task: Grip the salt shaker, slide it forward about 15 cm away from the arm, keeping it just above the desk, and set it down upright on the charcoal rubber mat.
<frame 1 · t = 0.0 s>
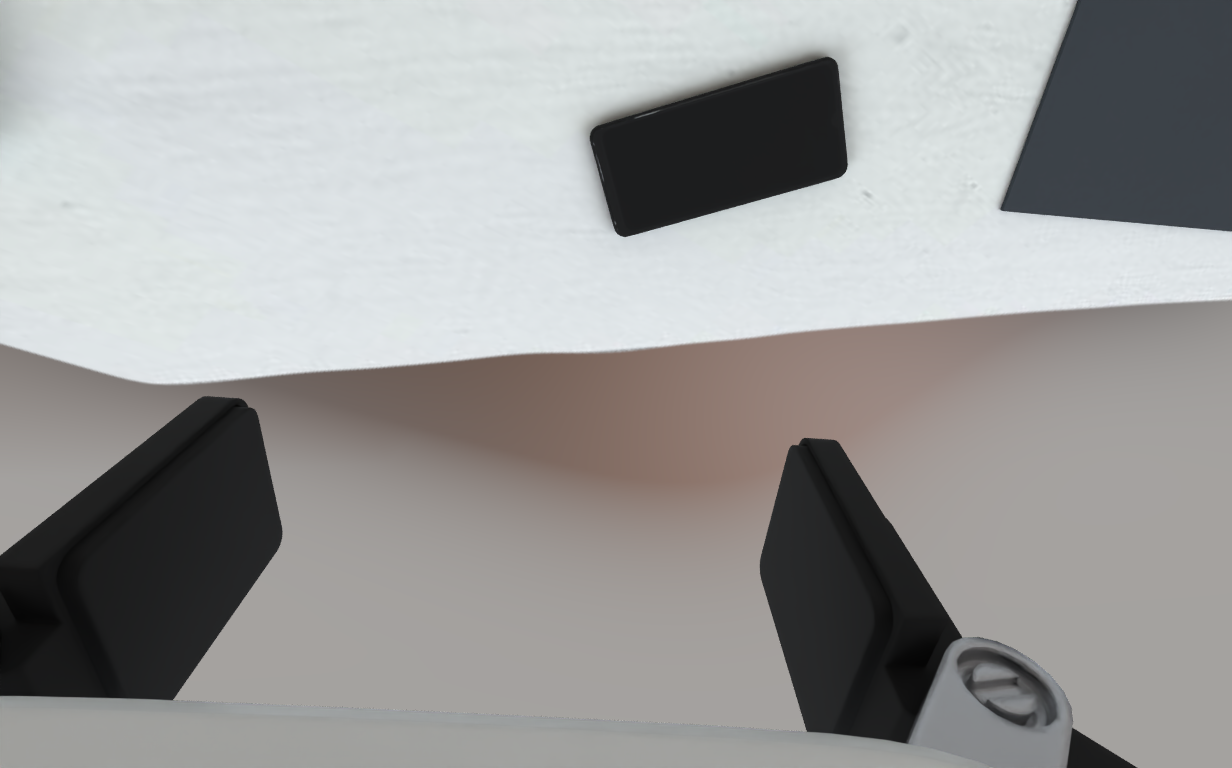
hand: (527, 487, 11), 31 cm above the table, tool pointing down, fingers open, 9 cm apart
mat: (1213, 49, 35), on the table
smartphone: (718, 151, 38), on the table
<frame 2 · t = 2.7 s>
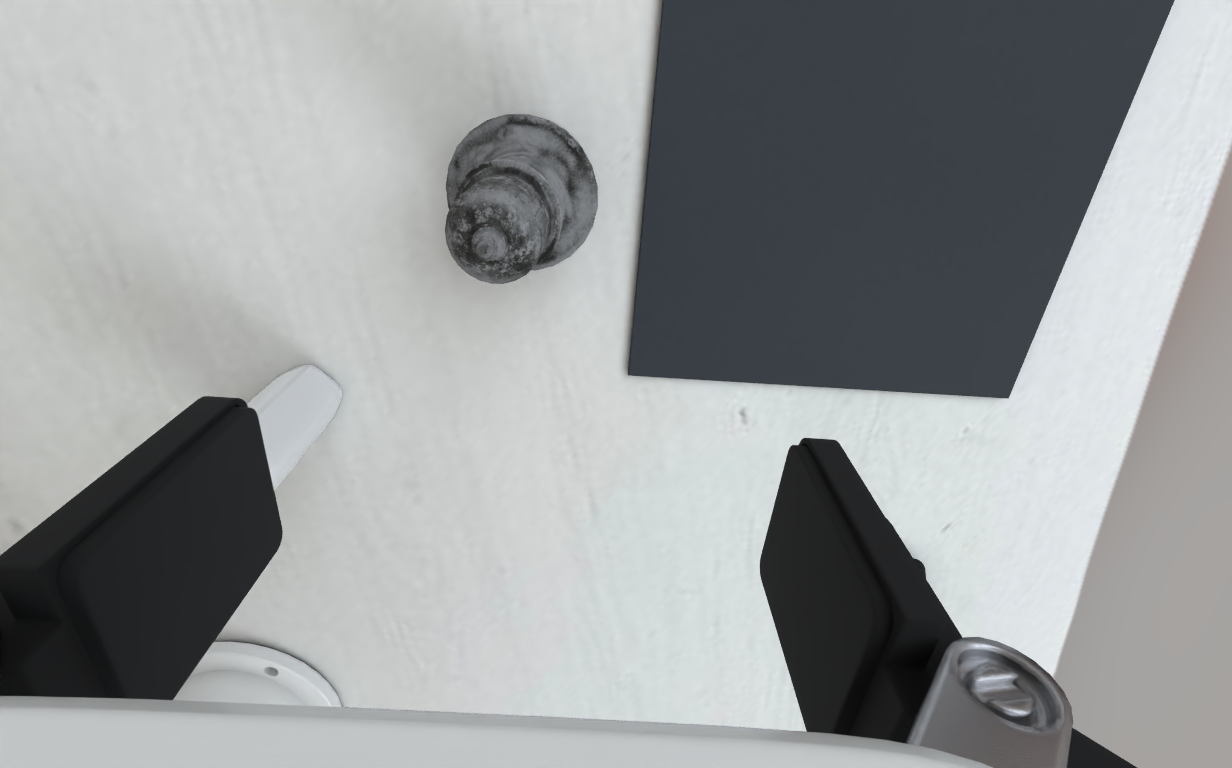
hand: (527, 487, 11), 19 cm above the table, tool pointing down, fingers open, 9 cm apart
mat: (864, 207, 27), on the table
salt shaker: (532, 182, 27), on the table
eye dropper bottle: (300, 403, 31), on the table
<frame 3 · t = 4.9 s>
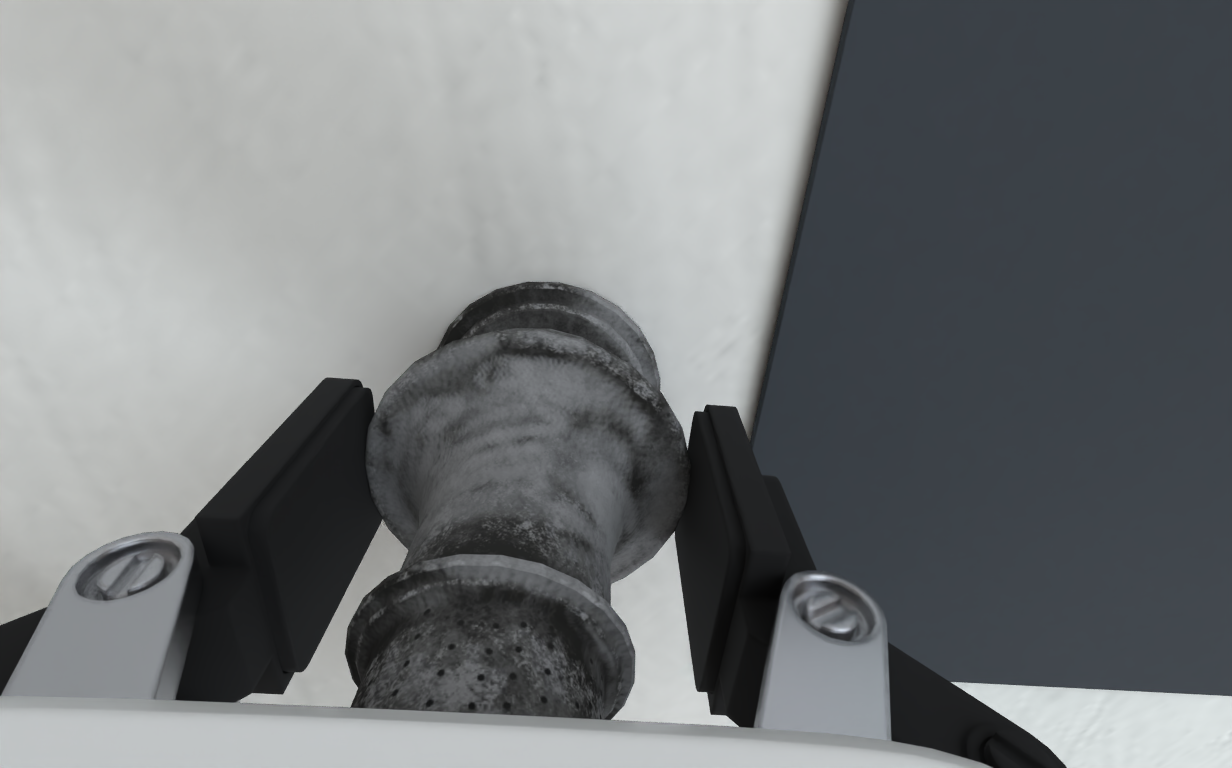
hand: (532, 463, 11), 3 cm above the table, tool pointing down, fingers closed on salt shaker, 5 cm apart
mat: (1158, 434, 15), on the table
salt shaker: (548, 386, 14), on the table, touching gripper
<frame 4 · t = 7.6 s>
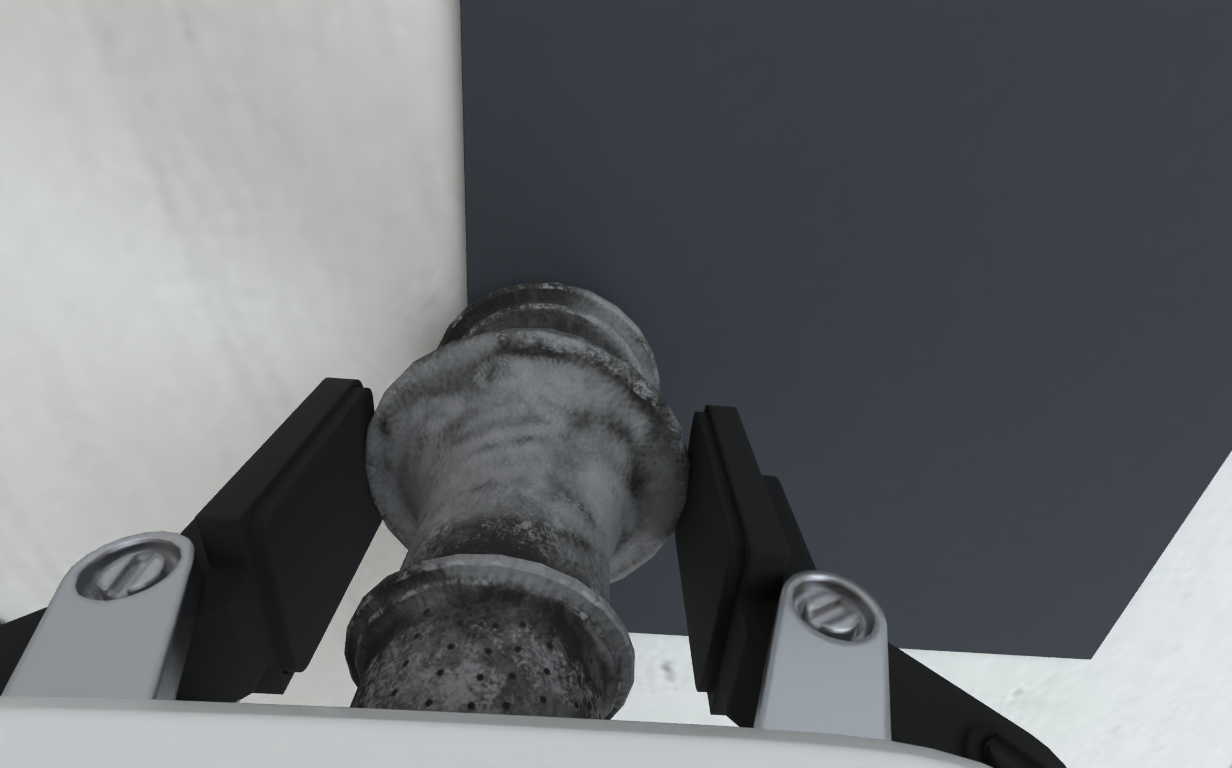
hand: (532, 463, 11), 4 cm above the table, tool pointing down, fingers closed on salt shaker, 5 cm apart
mat: (866, 390, 15), on the table
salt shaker: (547, 386, 14), point 1 cm above the table, touching gripper
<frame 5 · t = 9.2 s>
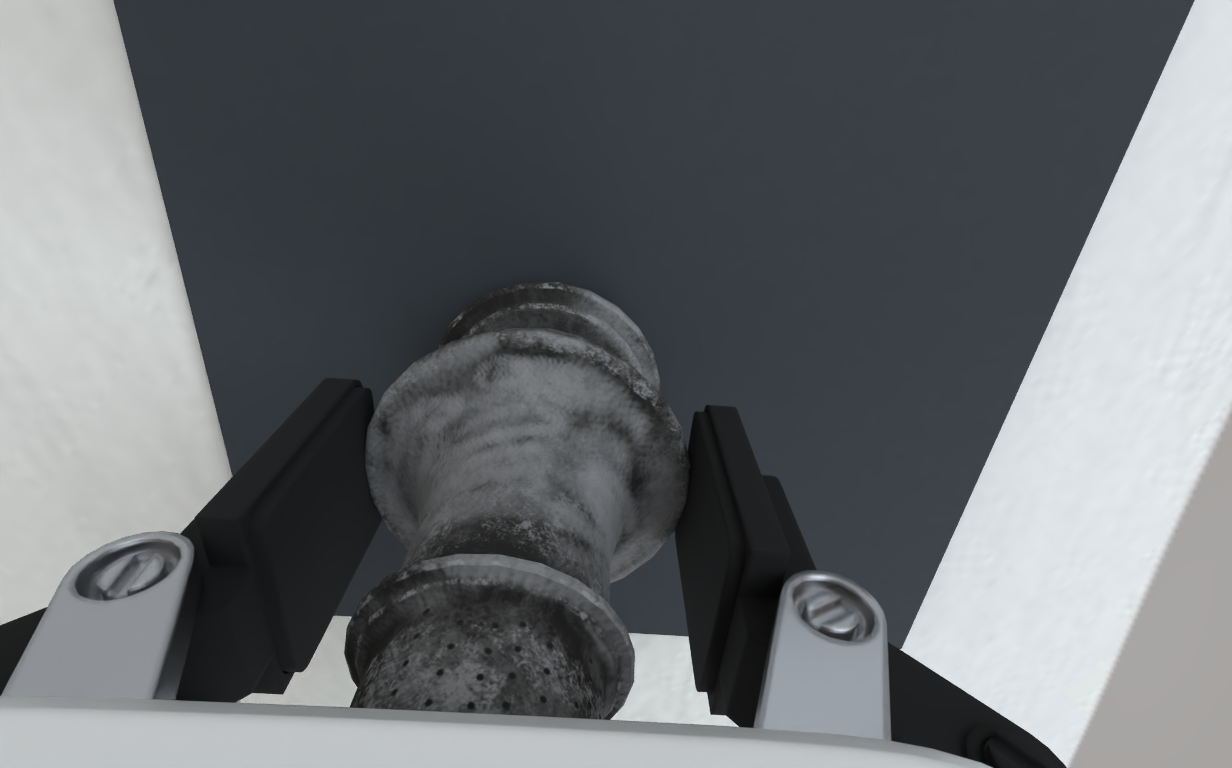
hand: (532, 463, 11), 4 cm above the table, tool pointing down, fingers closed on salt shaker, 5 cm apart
mat: (617, 370, 15), on the table
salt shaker: (547, 386, 14), point 1 cm above the table, touching gripper
when the fingers open (3 cm above the table, at t = 10.3 s): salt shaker stays where it is, resting on mat.
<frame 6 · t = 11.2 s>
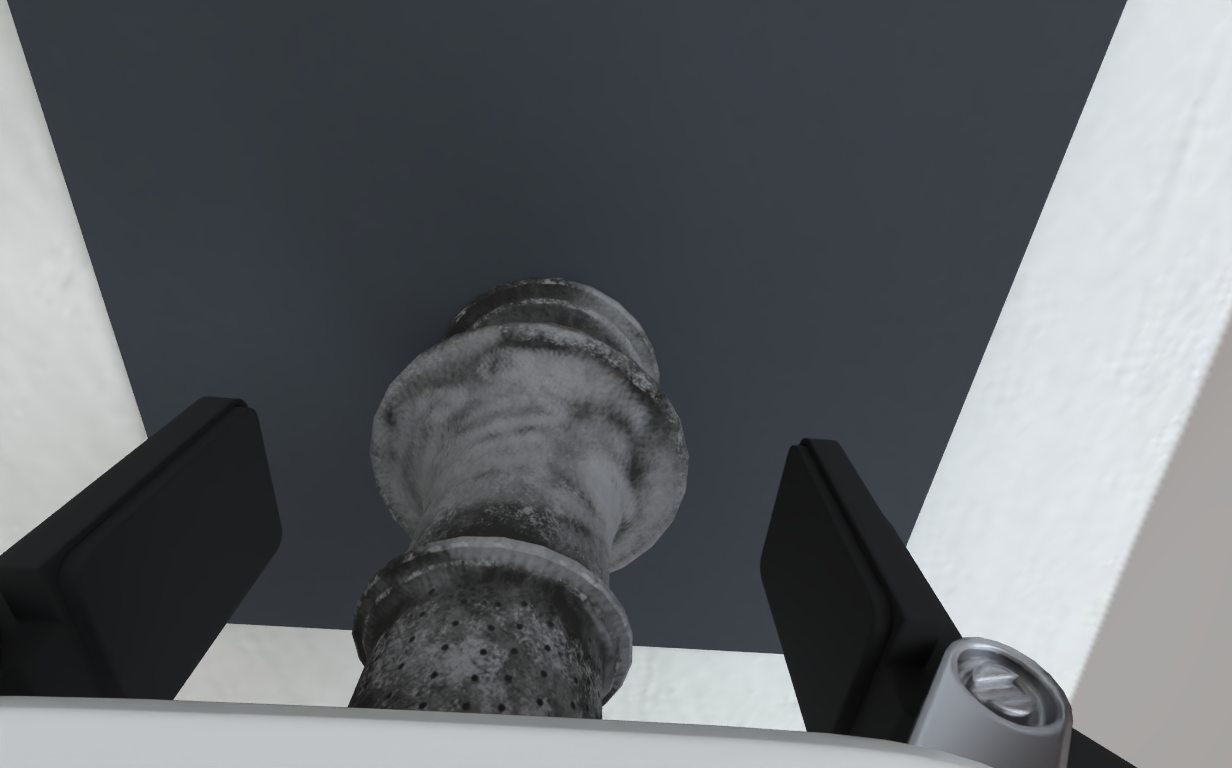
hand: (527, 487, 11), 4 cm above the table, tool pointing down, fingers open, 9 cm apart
mat: (554, 375, 15), on the table
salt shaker: (549, 380, 14), resting on mat
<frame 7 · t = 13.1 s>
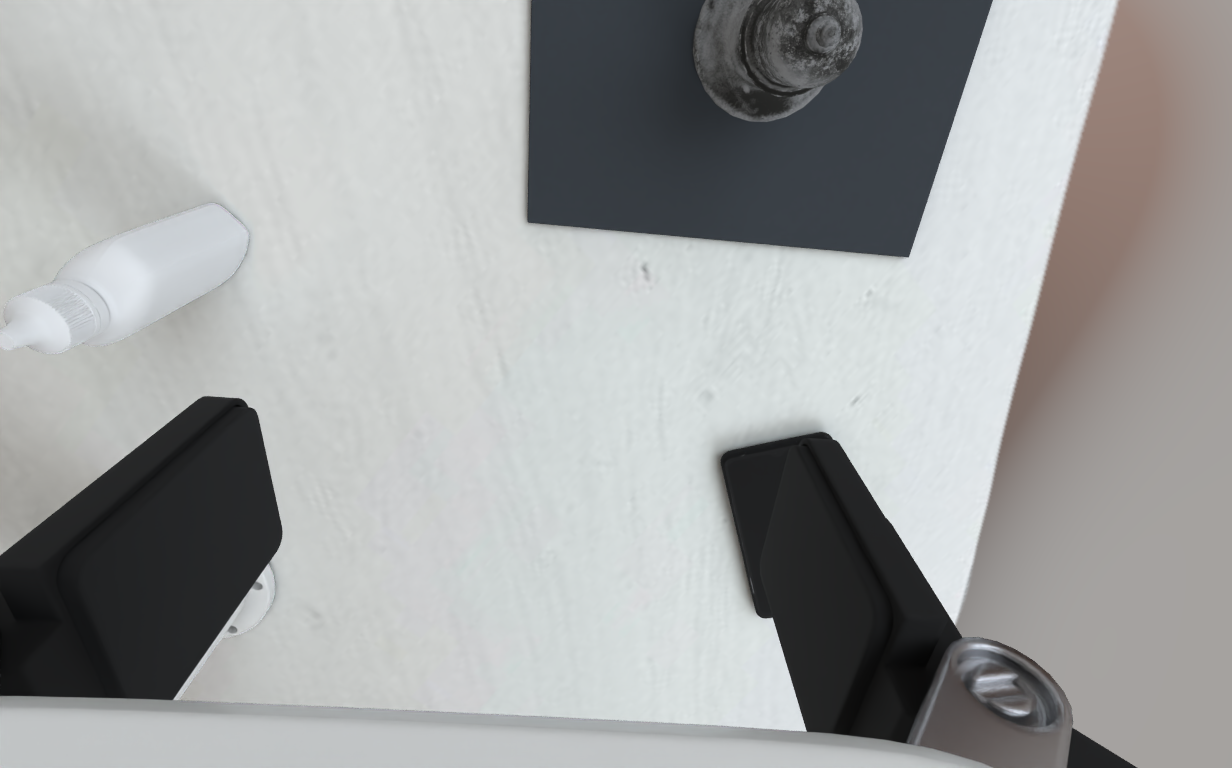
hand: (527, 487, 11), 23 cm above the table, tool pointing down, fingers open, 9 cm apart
mat: (752, 41, 27), on the table
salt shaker: (750, 43, 27), resting on mat
eye dropper bottle: (210, 247, 32), on the table
smartphone: (788, 526, 41), on the table
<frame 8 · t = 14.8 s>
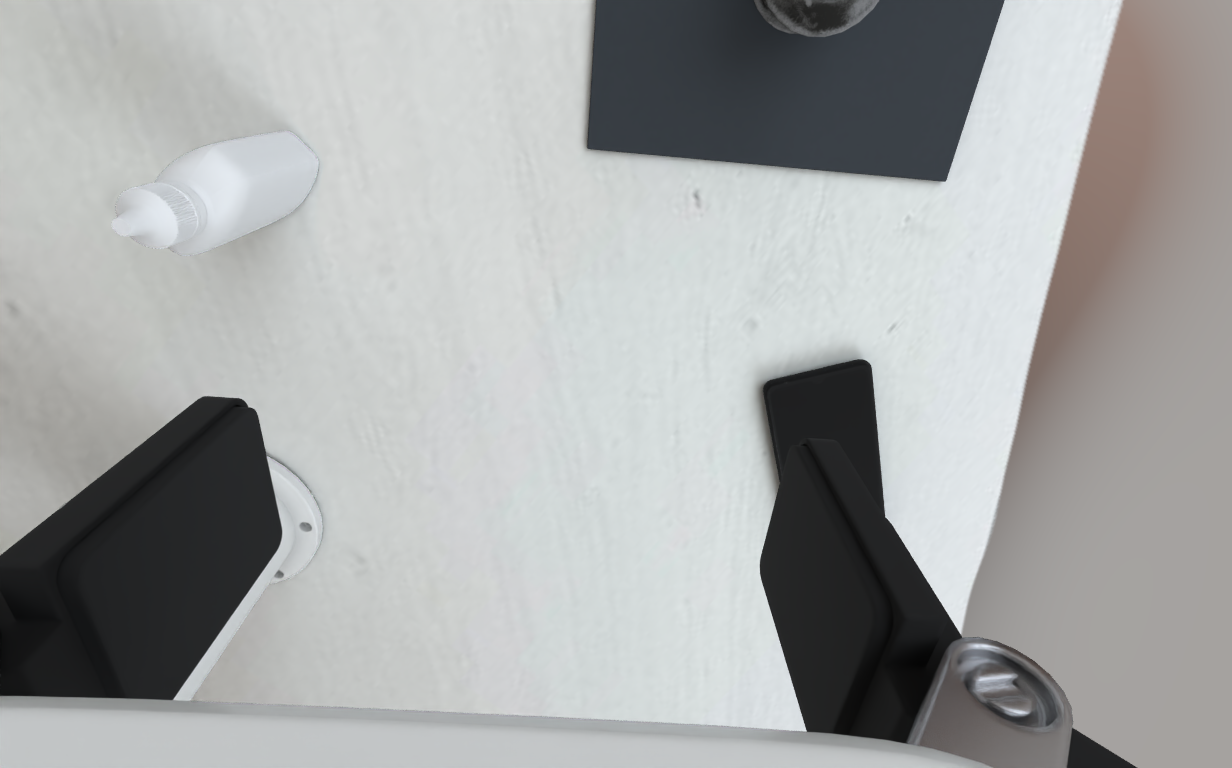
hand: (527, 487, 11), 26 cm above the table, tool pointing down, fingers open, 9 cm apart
eye dropper bottle: (279, 177, 33), on the table
smartphone: (825, 458, 42), on the table
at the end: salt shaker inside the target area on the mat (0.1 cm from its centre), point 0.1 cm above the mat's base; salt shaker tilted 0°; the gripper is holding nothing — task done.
